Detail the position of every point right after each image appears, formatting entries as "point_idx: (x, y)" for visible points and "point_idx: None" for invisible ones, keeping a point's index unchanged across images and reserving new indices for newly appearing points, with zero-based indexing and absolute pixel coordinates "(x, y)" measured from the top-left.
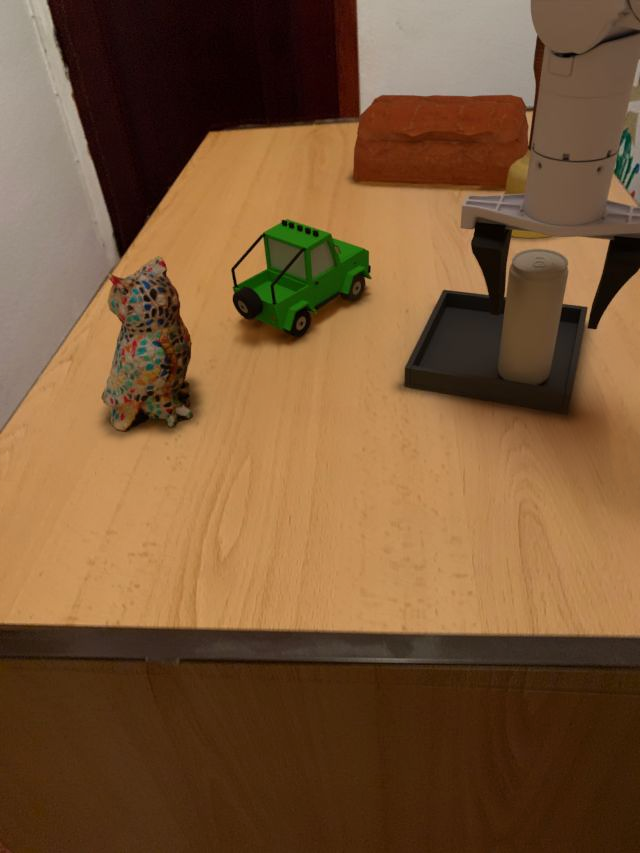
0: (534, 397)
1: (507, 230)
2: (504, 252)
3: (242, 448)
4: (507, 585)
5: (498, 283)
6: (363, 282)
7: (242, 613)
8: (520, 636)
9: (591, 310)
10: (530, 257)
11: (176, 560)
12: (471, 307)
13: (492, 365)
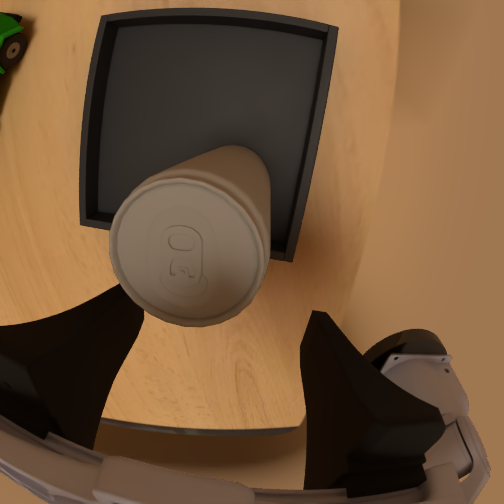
0: None
1: (59, 428)
2: (86, 411)
3: (26, 310)
4: (230, 411)
5: (112, 380)
6: (16, 39)
7: (102, 412)
8: (239, 429)
9: (307, 353)
10: (153, 231)
11: None
12: (151, 23)
13: None
